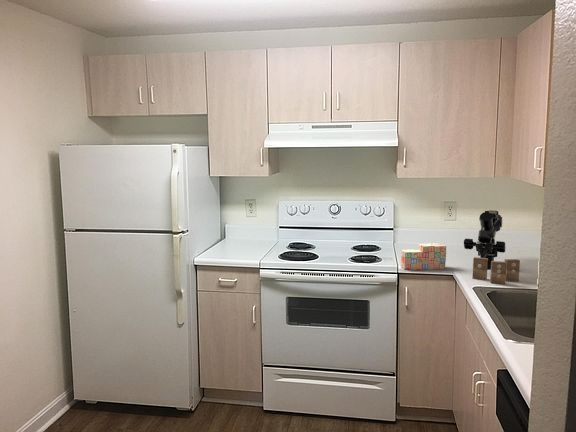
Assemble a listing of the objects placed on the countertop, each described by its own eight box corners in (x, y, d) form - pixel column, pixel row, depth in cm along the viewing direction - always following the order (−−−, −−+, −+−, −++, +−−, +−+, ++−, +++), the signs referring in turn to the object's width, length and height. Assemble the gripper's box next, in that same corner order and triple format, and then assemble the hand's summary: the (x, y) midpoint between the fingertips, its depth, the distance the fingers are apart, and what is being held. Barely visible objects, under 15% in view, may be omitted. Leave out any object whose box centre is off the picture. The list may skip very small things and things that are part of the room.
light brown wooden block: (490, 282, 222) (491, 260, 220) (504, 282, 220) (505, 261, 219) (491, 283, 219) (492, 262, 218) (505, 284, 218) (506, 262, 216)
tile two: (503, 280, 225) (504, 259, 224) (515, 279, 225) (517, 259, 224) (506, 281, 222) (507, 260, 221) (518, 281, 223) (520, 260, 221)
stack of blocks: (404, 270, 245) (405, 246, 243) (400, 267, 251) (401, 243, 249) (445, 269, 246) (446, 245, 244) (440, 266, 252) (441, 243, 250)
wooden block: (473, 277, 230) (474, 257, 228) (486, 279, 227) (487, 258, 225) (472, 278, 227) (473, 258, 226) (485, 280, 225) (487, 259, 223)
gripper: (465, 222, 237) (460, 248, 229) (506, 225, 228) (502, 252, 220) (467, 235, 245) (462, 261, 237) (506, 238, 236) (503, 265, 228)
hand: (482, 259), depth 231 cm, fingers closed
